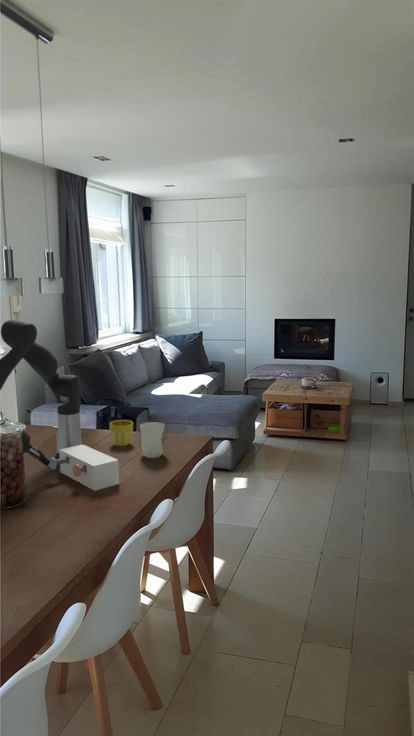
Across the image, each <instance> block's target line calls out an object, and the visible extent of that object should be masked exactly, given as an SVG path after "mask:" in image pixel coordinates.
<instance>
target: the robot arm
mask: <svg viewBox="0 0 414 736" xmlns="http://www.w3.org/2000/svg"><path fill="white" fill-rule="evenodd" d="M0 336H1V339H2V341H3V342H4V343H5V344H6V345H7V346H8V347H10V348H11V349H10V350H9V351H8V352H7V353H6V354H5V355H4V356H3V357H1V358H0V391H1V390H2V388H3V387H4V385H5V383H6V381H7V379H8V378H9V376H10V375H11V374H12V372H13V371H14V369H15V368H16V367H17V366H18V364H20V362H21V361H22V360H24V361H25V362H27V364H28V365H29V366H30V367H31V368H32V369H33V370H34V372H36V373H37V375H39V376H40V377H41V379H42V380H43V381H44V382H45V383H46V385H47V386H48V387H49V389H50V391H51V392H52V393H53V395H55V396H57V397H62V398H63V397H64V398H68V399H67V400H68V401H67V402H65V403H62V404H60V405H58V406H57V409H56V411H57V412H56V413H57V425H58V426H57V428H58V429H57V430H56V432H55V433H56V447H57V449H56V450H57V453H58V454H59V449H64V448H69V447H73V446H78V445H82V433H81V432H82V430H81V410H80V409H81V389H82V388H81V387H82V386H81V380H80V378H79V376H78V375H74V374H60V373H59V372H58V371H57V370H58V365H59V364H58V359H57V358H56V357H55V355H54V354H53V353H52V352H51V351H50V350H49V349H48V348H46V347H45V346H44V345H42V344H40V343H38V342H36V340H37V337H38V330H37V327H36V325H35V324H34V323H32V322H27V321H22V320H17V319H8V320H7V321H5V322H3V323H2V325H1V327H0ZM5 419H6V420H7V421H9V422H11V421H10V420H9V419H7V418H6V417H5ZM21 438H22V443H23V451H24V454H25V455H27V456H29V457H30V458H32V459H34V460H35V461H38V462H40V463H41V464H42V465H44V466H45V467H48V466H49V463H50V461H49V458H47V457H45V456H46V455H45V454H43V452H41V450H39V449H38V448H37V447H36V445H35V444H33V443H30V442H31V435H29V434H28V433H27V432H26V431H24V430H23V431H22V432H21Z"/></svg>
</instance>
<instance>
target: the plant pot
mask: <svg viewBox="0 0 414 736" xmlns="http://www.w3.org/2000/svg"><path fill="white" fill-rule="evenodd" d="M133 430H134V422H133V421H132V420H129V419H128V420H127V419H120V420H119V419H118V420H113V421H110V423H109V431H110V432H111V436H112V440H113V444H114V445H115V446H117V447H124V446H128V445H130V441H131V436H132V431H133Z"/></svg>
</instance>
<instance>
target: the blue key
mask: <svg viewBox="0 0 414 736" xmlns="http://www.w3.org/2000/svg"><path fill="white" fill-rule="evenodd" d="M48 460H49V461H50V463H49V465H48V466H49V468H50V470H55V469H57V466H60V464H64V463H68V462H69V457H65V458H61V459H60V458H58V459H56V458H55V457H54V456H52V457H48Z"/></svg>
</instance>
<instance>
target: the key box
mask: <svg viewBox="0 0 414 736" xmlns="http://www.w3.org/2000/svg"><path fill="white" fill-rule="evenodd" d="M58 455H59V459H61V458H65V457H69V462H68V463H64V464H60V465H59V472H60V473H61V474H63V475H65V476H66V475H67V477H69V478H70V479H72V480H74V481H76V482H77V483H79V482H80V484H82V485H83V486H84V487H87V488H89V489H91V490H93V491H95V492H96V491H99V490H101V489H106V488H110V487H114V486H117V485H119V484H120V473H119V459H117V458H116V457H112V456H111V455H108V454H105V453H103V452H101V451H99V450H96V449H94V448H91V447H90V446H87V445H85V444H81V445H78V446H73V447H69V448H64V449H59V453H58ZM74 464H79V466H84V465H85V466H86V471H84V472H81V475H80V476H78V477H76V476H75V475H74V473H73V465H74Z"/></svg>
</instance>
